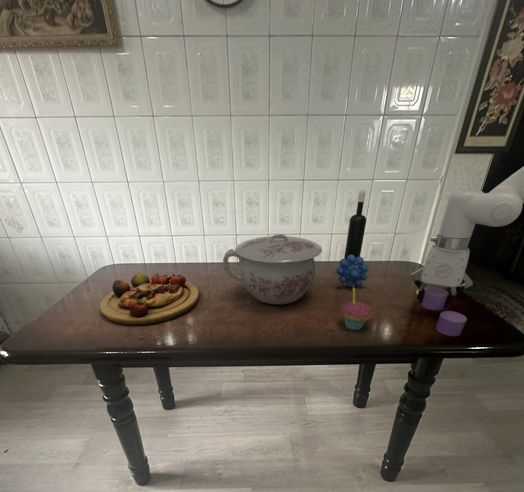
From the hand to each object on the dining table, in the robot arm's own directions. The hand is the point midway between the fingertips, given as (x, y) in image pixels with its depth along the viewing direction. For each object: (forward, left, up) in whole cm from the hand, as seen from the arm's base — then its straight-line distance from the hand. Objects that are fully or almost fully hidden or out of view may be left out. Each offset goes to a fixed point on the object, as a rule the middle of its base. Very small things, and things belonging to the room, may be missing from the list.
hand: (432, 303), depth 90 cm
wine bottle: (+31, -22, -4) cm, 38 cm away
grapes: (+27, -9, -4) cm, 28 cm away
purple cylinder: (0, 0, -1) cm, 1 cm away
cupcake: (+19, +17, -4) cm, 26 cm away
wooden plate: (+83, +33, -4) cm, 89 cm away
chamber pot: (+48, +9, -4) cm, 49 cm away
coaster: (+1, -16, -4) cm, 16 cm away
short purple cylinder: (-5, +7, -4) cm, 10 cm away
